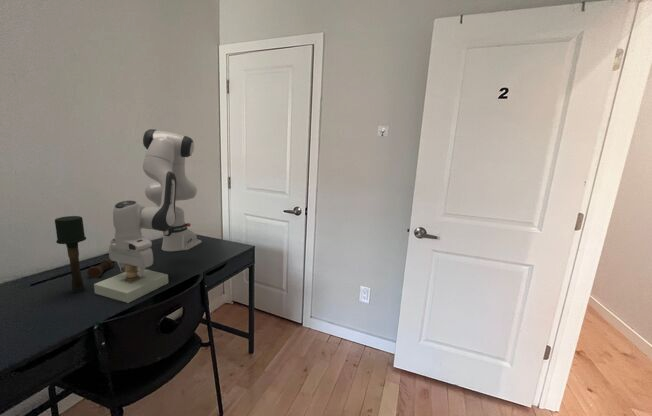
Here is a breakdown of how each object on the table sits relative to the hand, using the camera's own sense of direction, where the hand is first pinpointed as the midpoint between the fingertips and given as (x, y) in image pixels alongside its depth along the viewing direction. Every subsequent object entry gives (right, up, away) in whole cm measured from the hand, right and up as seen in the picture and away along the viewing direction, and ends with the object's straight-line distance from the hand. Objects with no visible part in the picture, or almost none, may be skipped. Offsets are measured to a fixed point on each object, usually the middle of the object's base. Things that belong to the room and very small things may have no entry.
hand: (132, 273), depth 115 cm
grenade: (-20, -6, -3) cm, 21 cm away
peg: (0, -6, +1) cm, 6 cm away
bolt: (-24, -3, +16) cm, 29 cm away
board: (0, -6, +1) cm, 6 cm away
